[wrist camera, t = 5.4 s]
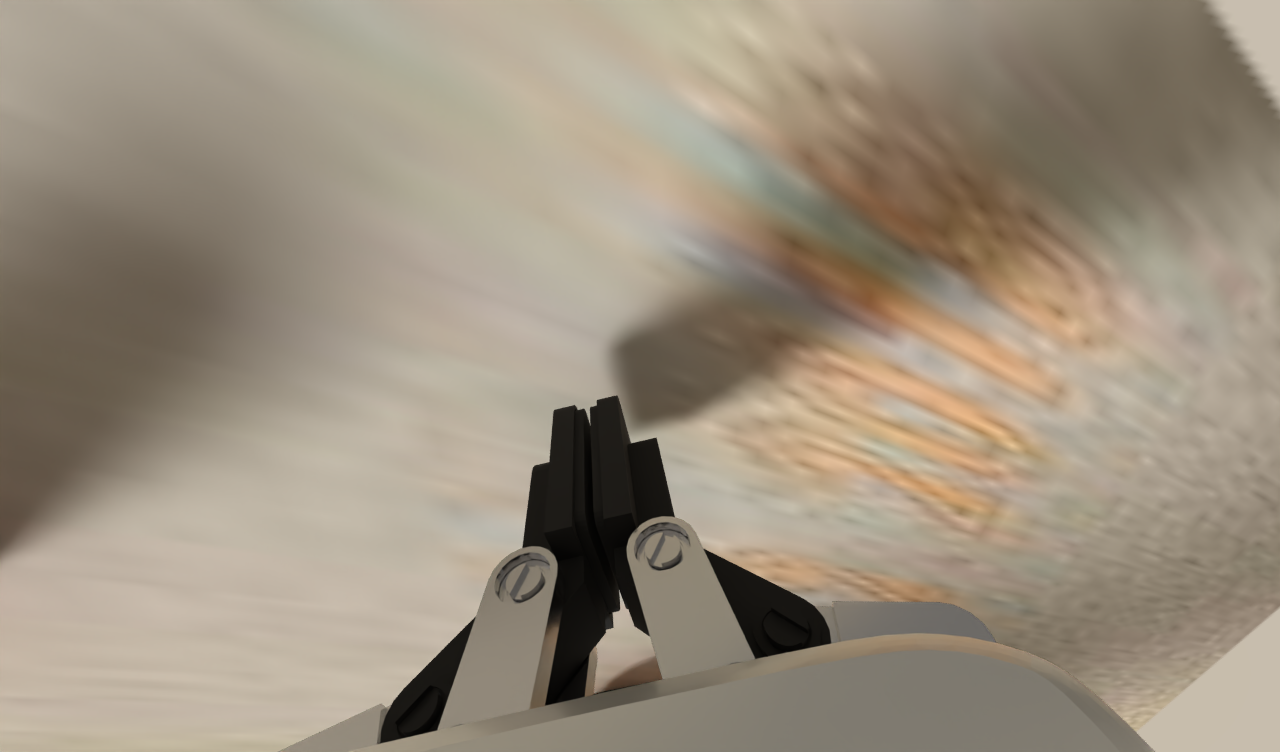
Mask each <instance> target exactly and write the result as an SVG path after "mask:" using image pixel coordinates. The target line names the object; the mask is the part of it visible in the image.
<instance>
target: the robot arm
mask: <svg viewBox="0 0 1280 752" xmlns="http://www.w3.org/2000/svg"><path fill="white" fill-rule="evenodd" d="M590 423H591V426H590ZM590 423H589V420H588V417H587V414H586V411H585V409H581V410H577V407H576V406H575V405H573V406H569V407H565V408H560V409H556V410H554V413H553V425H552V438H551V450H550V462H548V463H544V464H540V465H535V466H534V467H533V470H532V476H531V484H530V492H529V500H528V508H527V516H526V524H525V532H524V540H523V548H521V549H519V550H517V551H515V552H513V553H511V554H509V555H508V556H507V557H505V558H504V559H503V560H502V561H501V562H500V563H499V564H498V565H497V566H496V568H495V569H494V570H493V572H492V574H491V576H490V578H489V580H488V583H487V586H486V589H485V592H484V595H483V597H482V600H481V603H480V606H479V609H478V612H477V615H476V617H475V618H474V619H473V620H472V621H471V622H470V623H469V624H468V625H467V626H466V627H465V628H464V629H463V630H462V631H461V632H460V633H459V634H458V635H457V636H456V637H455V638H454V639H453V640H452V641H451V642H450V643H449V644H448V645H447V646H446V647H445V648H444V649H443V650H442V651H441V652H440V653H439V654H438V655H437V656H436V657H435V658H434V659H433V660H432V661H431V662H430V663H429V664H428V665H427V666H426V667H425V668H424V669H423V670H422V671H421V672H420V673H419V674H418V675H417V676H416V677H415V678H414V679H413V680H412V681H411V682H410V683H409V684H408V685H407V686H406V687H405V688H404V689H403V691H402V692H401V693H400V694H399V695H398V697H397V698H396V699H395V700H394V701H393V703H392V705H390V706H388V707H385V706H384V705H383V704H382V703H381V704H379V705H377V706H375V707H373V708H371V709H368V710H366V711H364V712H362V713H360V714H358V715H356V716H353V717H351V718H349V719H347V720H345V721H343V722H341V723H338V724H336V725H334V726H332V727H330V728H328V729H325V730H323V731H321V732H319V733H317V734H315V735H313V736H310V737H308V738H306V739H304V740H302V741H300V742H298V743H295V744H293V745H291V746H289V747H287V748H285V749H283V750H280V751H279V752H1155V751H1154V750H1153V749H1152V748H1151V747H1150V746H1149V745H1148V744H1147V743H1146V742H1145V741H1144V740H1143V739H1142V738H1141V737H1140V736H1139V735H1138V734H1137V733H1136V732H1135V731H1134V730H1133V729H1132V728H1131V727H1130V726H1129V725H1128V724H1127V723H1126V722H1125V721H1124V720H1123V719H1122V718H1121V717H1120V716H1119V715H1118V714H1117V713H1116V712H1115V711H1114V710H1113V709H1112V708H1110V707H1109V706H1108V705H1107V704H1106V703H1105V702H1104V701H1103V700H1102V699H1101V698H1099V697H1098V696H1097V695H1096V694H1095V693H1093V692H1092V691H1091V690H1090V689H1089V688H1088V687H1086V686H1085V685H1084V684H1083V683H1081V682H1080V681H1079V680H1078V679H1076V678H1075V677H1073V676H1072V675H1070V674H1069V673H1067V672H1066V671H1064V670H1063V669H1061V668H1060V667H1058V666H1056V665H1054V664H1053V663H1051V662H1049V661H1047V660H1045V659H1043V658H1040V657H1038V656H1035V655H1033V654H1030V653H1028V652H1025V651H1022V650H1019V649H1016V648H1012V647H1009V646H1006V645H1002V644H999V643H996V641H995V639H994V637H993V636H992V634H991V633H990V632H989V630H988V629H987V627H986V626H985V625H984V623H982V622H981V621H980V620H979V619H978V618H976V617H975V616H974V615H973V614H971V613H970V612H968V611H966V610H964V609H962V608H960V607H957V606H955V605H952V604H946V603H940V602H842V601H833V602H832V607H815V606H813V605H812V604H810V603H809V602H807V601H806V600H804V599H803V598H801V597H799V596H797V595H795V594H793V593H791V592H789V591H787V590H785V589H783V588H781V587H779V586H777V585H775V584H773V583H771V582H769V581H767V580H765V579H763V578H761V577H759V576H757V575H755V574H753V573H751V572H749V571H747V570H745V569H743V568H741V567H739V566H737V565H735V564H733V563H731V562H729V561H727V560H725V559H723V558H721V557H719V556H717V555H715V554H713V553H711V552H709V551H707V550H705V549H703V547H702V545H701V543H700V541H699V538H698V536H697V534H696V532H695V531H694V530H693V528H692V527H691V525H689V524H688V523H686V522H685V521H684V520H682V519H679V518H675V516H674V512H673V507H672V503H671V498H670V494H669V489H668V485H667V481H666V476H665V472H664V468H663V463H662V459H661V455H660V451H659V446H658V442H657V438H653V439H648V440H644V441H640V442H635V443H631V442H630V438H629V435H628V431H627V427H626V424H625V420H624V416H623V413H622V409H621V405H620V402H619V398H618V396H612V397H608V398H604V399H599V400H597V406H594V407H590ZM619 590H620V593H621V596H622V598H623V601H624V604H625V606H626V609H629V612H630V615H631V617H632V620H633V623H634V626H635V627H637V628H638V629H640V630H641V631H642V632H644V633H645V634H647V635H648V636H650V638H651V641H652V645H653V648H654V652H655V655H656V659H657V662H658V665H659V669H660V672H661V676H662V679H663V680H658V681H654V682H649V683H645V684H640V685H636V686H631V687H627V688H622V689H618V690H613V691H609V692H604V693H600V694H596V695H594V685H595V676H596V667H597V648H596V645H597V643H598V642H599V641H600V640H601V638H602V637H603V636H604V634H605V633H606V629H611V628H613V613H612V612H616V611H620V597H619Z"/></svg>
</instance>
